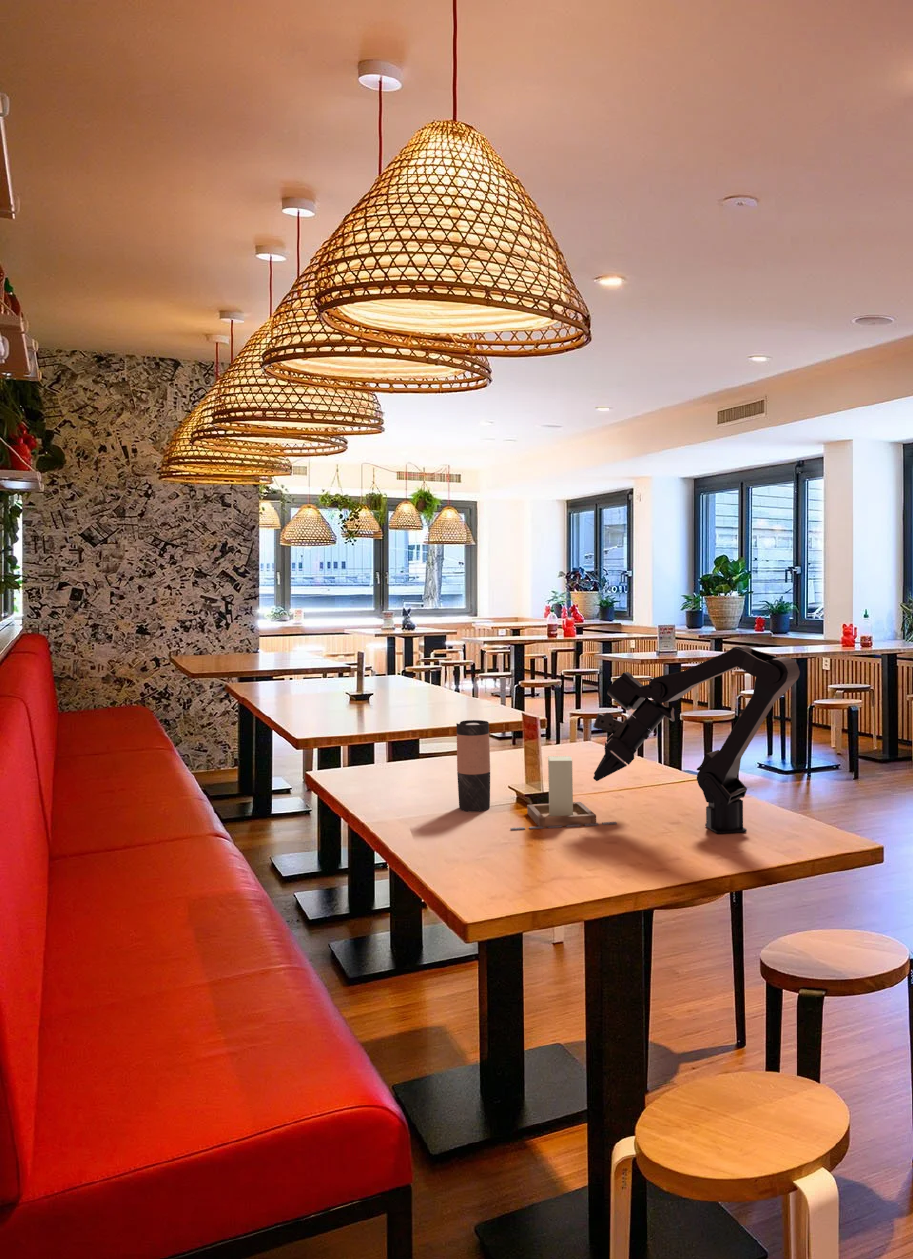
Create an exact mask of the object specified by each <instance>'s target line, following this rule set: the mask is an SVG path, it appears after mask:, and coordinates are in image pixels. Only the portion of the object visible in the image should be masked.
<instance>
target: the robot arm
mask: <svg viewBox="0 0 913 1259" xmlns="http://www.w3.org/2000/svg"><path fill="white" fill-rule="evenodd" d="M738 668H739V669H742V670H743V671H744V672H746V673H747V674H748V675H750V676H752V677H755V681H754V684H753V693H752V696H751V697H750V699H749V701H748V702H747V704H746V705H745V707H744V709H743V710H742V713H741V715H740V716H739V718H738V719H737V721H736V723H735V724H734V725H733V727H732V729H731V731H730V732H729V734H728V736H727V738H726V740H725V741H724V743H723V745H722V746H721V748H720V749H717V750H714V751H711V752H708V753H705V755H704V756H703V760H702V762H701V764H700V765H699V766H698V767H697V768H696V771H698V773H697V775H696V782H697V785H698V787H699V788H700V789H701V791H702V793H703V796H704V799H705V802H706V803H708V804H707V806H705V824H704V825H705V827H706V828H707V829H710V830H711V831H713V832H714V833H715V834H731V833H732V834H733V833H744V832H747V828H745V827H744V800H743V799H742V798H745V797H746V794H747V790H748V787H746V786H745V784H744V783H743V782H742V781H741V780H740V778H738V774H739V773H740V769H741V768H740V767H741V760H742V757H743V755H744V754H745V752H746V750H747V749H748V747H749V745H750V744H751V742H752V740H753V739H754V737H755V736H756V734H757V732H758V731H759V729H760V727H761V726H762V724H763V722H764V721H765V719H766V718H767V716H768V714H769V712H770V711H771V709H772V708H773V706H774V704H775V703H776V702H777V701H778V700H779V699H780V698H781V697H782V696H783V695H784V694H785V693H786V692H788V691H789V689H791V687H792V686H793V685H794V684H795V683H796V682H797V681H798V679H799V678H800V674H801V671H800V669H799V665H798V663H797V662H796V661H795V660H794V659H793V658H792V657H791V658H790V657H789V656H781V657H778V656H776V655H774V654H770V653H766V652H763V651H760V650H756V649H754V648H751V647H750V646H748V645H740V646H739V645H738V646H733V647H731V648H730V649H729V650H728V651H726V652H723V653H720V654H718V655H716V656H714V657H712V658H709V659H708V660H705V661H703V662H700V663H698V664H696V665H694V666H691V667H689V668H687V669H685V670H682V671H678V672H672V673H668V674H664V675H660V676H659V675H658V676H655V677H653V678H652V679H651V680H650V681H649V682H648V683H647V684H643V683H641V682H640V681H639V680H637V678H635V677H634V676H633V674H631V673H630V672H629V671H625V672H624V671H623V672H622V674H621V675H620V676H619V677H618V678H616V679H615V680H614V681H613V682H612V683H611V684H610V685H609V687H608V688H607V695H608V696H609V697H610V698H611V699H613V700H614V701H615V702H616V703H617V704H618V705H619V706H620V707H622V708H623V709H625V710H626V711H630V710H632V711H633V712H632V713H631V715H630V716H629V717H627V718H625V719H623V721H621V720H618V719H616V718H614V714H613V713H610V712H609V713H608V712H605V713H604V714H602V713H599V712H598V713H597V715H596V718H595V720H594V723H593V728H594V729H597V730H602V731H604V732H605V731H606V732H608V733H611V734H610V735H609V736H608V738H607V739H606V740H605V742H604V755H603V756H602V758H601V760H600V761H599V764H598V765H597V768H596V769H595V770H594V773H593V780H594V781H595V782H598V781H600V780H602V779H604V778H606V777H608V776H610V775H612V774H614V773H616V772H618V771H620V770H622V769H623V768H626V767H627V766H630V765H631V763H632V761H634V759H635V754H636V753H637V751H638V749H639V747H641V745H642V744H643V743H644V742H645V741H646V740H647V739H648V738H649V737H650V735H651V733H652V732H653V731H654V730H655V729H656V727H658V725H659V724H660V723H661V721H663V719H665V717H666V718H667V719H669V720H670V721H671V722H675V721H676V720H675V718H676V717H675V709H674V707H672V706H666V705H665V703H669V702H673V701H677V700H679V699H681V698H682V697H684V696H685V695H687V694H688V693H690V691H691V690H693V689H694V688H695V687H697V686H699V685H700V684H703V683H705V682H707V681H710V680H712V679H714V678H716V677H719V676H722V675H724V674H725V673H728V672H731V671H733V670H736V669H738Z"/></svg>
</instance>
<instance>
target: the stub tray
mask: <svg viewBox="0 0 913 1259" xmlns="http://www.w3.org/2000/svg"><path fill="white" fill-rule="evenodd" d="M526 809H527V810H526V811H527V812H526V814H527V815H528V816H529V817H530V819H531V820H532V821H533V822H534V823H535V824H536V826H543V827H544V828H548V826H555V825H562V827H566V825H571V824H580V826H584V824H588V823H597V814H595V813H594V811H592V810H591V809H589V808H588V807H587V806H586V805H585V804H584V803H583V802H582V801H575V802H574V801H573V815H566V816H549V803H537V804H534V803H533V804H527V805H526ZM544 828H543V829H544Z"/></svg>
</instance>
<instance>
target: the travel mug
mask: <svg viewBox="0 0 913 1259" xmlns="http://www.w3.org/2000/svg"><path fill="white" fill-rule="evenodd" d="M490 751H491V750H490V722H489V721H487V720H483V719H481V720H479V719H473V720H472V719H469V720H468V719H467V720H461V721H460V722H459V723H458V722H456V771H457V773H456V775H457V791H458V793H457V794H458V808H459V810H460V809H461V811H463V810H464V811H463V812H468V811H479V812H485V811H488V810H489V809H490V807H491V756H490V755H491V754H490V753H491V752H490Z"/></svg>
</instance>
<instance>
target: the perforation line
mask: <svg viewBox="0 0 913 1259" xmlns="http://www.w3.org/2000/svg"><path fill="white" fill-rule="evenodd" d="M599 824H600V823H598V822H596V823H588V824H584V825H583V826H584V827H587V826H588V827H590V826H599ZM601 824H602V825H603V826H604V825H605V826H606V825H607V826H610V825H617V824H618V822H616V821H607V822H601ZM562 827H563V826H562V825H555V826H548V827H547V828H548V829H557V828H562ZM565 827H566V828H571V827H572V828H573V827H576V828H577V827H581V825H580V824H571V825H566V826H565ZM528 829H529V830H537V829H538V830H539V829H544V827H543V826H538V825H536V826H529V827H528ZM520 830H521V831H523V830H526V827H524V826H522V827H510V831H520Z"/></svg>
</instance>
